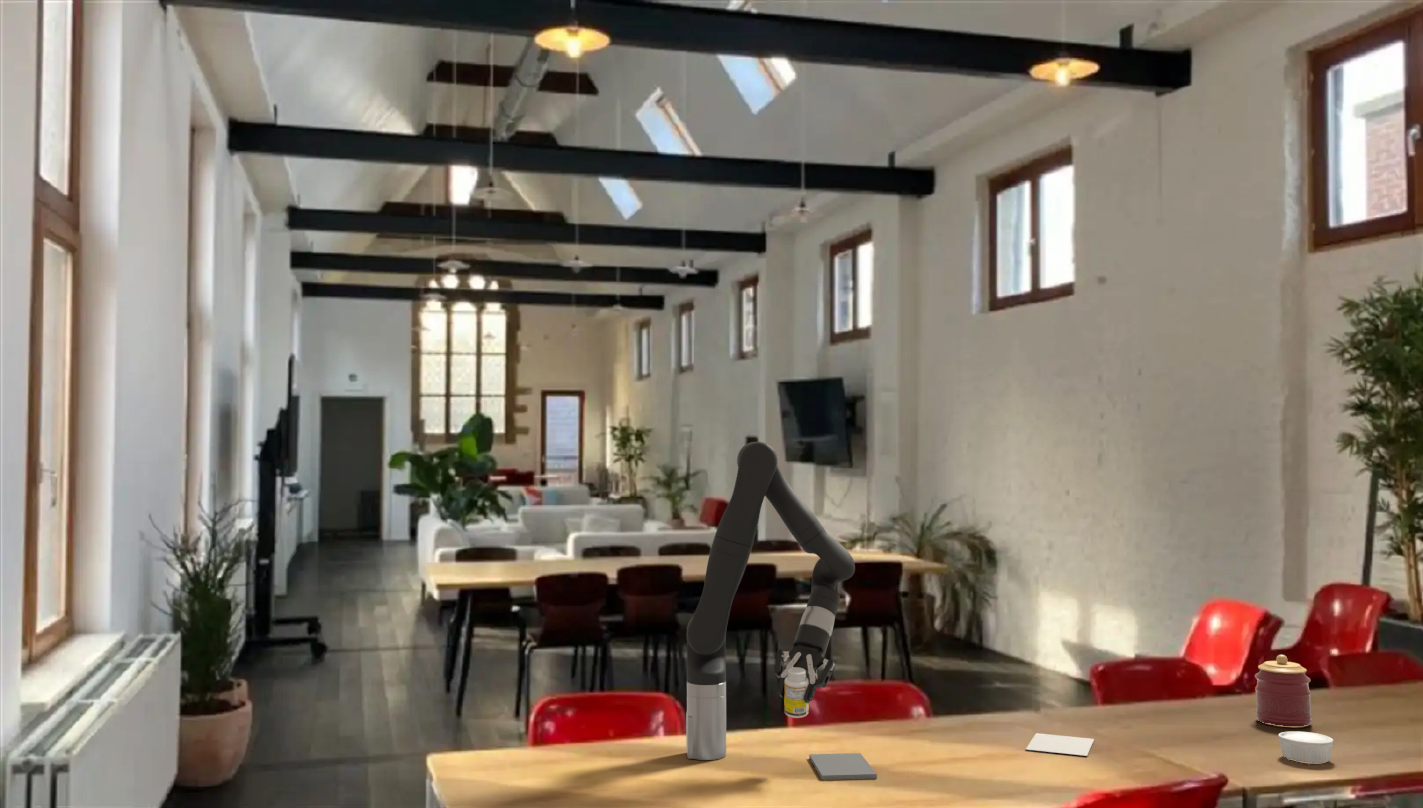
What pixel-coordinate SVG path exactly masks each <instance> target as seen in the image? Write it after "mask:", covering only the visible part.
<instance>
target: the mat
mask: <svg viewBox="0 0 1423 808" xmlns="http://www.w3.org/2000/svg"><path fill="white" fill-rule="evenodd" d="M808 756H809V757H808V759H809V760H810V759H811V761H812V762H811V761H810V762H811V764H812V763H813V764H812V765H814V766H815V767H814V766H813V767H814V769H815V770H817V771H816V772H817V774H818V776H819V777H820V779H821V780H822V781H839V780H840V781H843V780H846V781H847V780H872V779H873V780H875V779H878V773H877V772H876V771H875V770H874V769H873V767H872V766H871V765H870V764H869V762H868V761H867V760H866V758H865V757H864V756H863V754H862V753H860V752H857V753H856V752H852V753H851V752H849V753H843V752H842V753H811V754H809V755H808Z"/></svg>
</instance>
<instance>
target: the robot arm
mask: <svg viewBox="0 0 1423 808" xmlns="http://www.w3.org/2000/svg"><path fill="white" fill-rule="evenodd" d="M736 464H737V474H736V478H735V482H734V487H733V491H732V494H731V497H730V500H729V503H728V504H727V506H726V508H725V510H724V512H723V514H722V516H721V518H720V521H719V523H718V526H717V529H716V531H715V533H714V534H715V535H714V538H713V540H712V544H711V547H710V550H709V556H708V559H707V563H706V564H707V565H706V570H705V571H706V572H705V575H704V576H705V577H704V585H703V589H702V593H701V596H700V599H699V602H698V605H697V606H696V609H695V611H694V614H693V616H692V617H691V618H690V620H689V621H688V623H687V627H686V713H685V714H686V715H685V719H686V720H685V723H686V724H685V728H686V731H685V732H686V735H685V736H686V737H685V738H686V740H685V741H686V742H685V743H686V745H685V747H686V750H685V751H686V758H687V759H688V760H689V759H692V760H693V759H694V760H700V761H711V760H712V761H713V760H719V759H723V758H725V757H726V756H727V653H726V652H727V651H726V650H727V649H726V647H727V645H726V639H727V637H726V636H727V628H728V623H729V618H730V612H731V608H732V604H733V601H734V598H735V595H736V593H737V591H738V589H739V585H740V584H741V582H742V578H743V576H744V573H745V570H746V567H747V565H748V562H749V560H750V556H751V552H752V548H753V545H754V542H755V541H754V540H755V537H756V535H757V534H756V533H757V530H758V529H757V528H758V526H759V525H758V524H759V521H760V516H761V509H762V505H763V502H764V499H765V498H766V499H767V500H768V501H769V503H770V504H771V506H772V507H773V508H774V509H775V511H776V513H777V514H778V516H779V517H780V519H781V521H782V522H783V523H784V525H785V527H786V528H787V529H788V531H789V532H790V534H791V535H792V536H793V538H794V539H795V541H796V542H797V543H798V545H799V546H800V547H801V549H802V550H803V551H804V552H805V553H807V554H813V555H816V556H817V557H818V558H819V559H818V560H817V561H816V562H815V564H814V567H813V570H812V575H811V586H810V588H811V589H810V590H811V592H810V595H809V598H808V601H807V604H806V607H805V610H804V612H803V614H802V616H801V619H800V623H799V624H798V625H799V626H798V629H797V632H796V634H795V638H794V641H793V645H792V647H791V649H790V650H789V651H785V650H784V651H783V650H782V649H780V648H779V649H777V651H776V658H775V665H774V674H775V675H776V677H777V678H778V679H779V682H778V685H777V688H776V690H777V691H776V692H777V694H778V696H779V697H780V698H783V699H784V681H785V678H786V677H787V676H788V670H789V669H790V668H793V667H799V668H803V669H805V670H806V675H807V674H808V678H809V684H808V687H807V690H806V693H805V697H804V701H805V703H809V704H810V703H811V702H812V701H813V700H814V696H815V693H816V691H817V689H818V688H826V686H827V684H828V682H829V681H830V679H831V676H832V675H833V673H834V671H835V668H836V665H835V664H836V663H835V662H834V661H833V659H827V658H826V657H825V656H826V655H825V654H826V652H827V649H828V646H829V643H830V640H831V637H832V634H833V629H834V624H835V619H836V616H837V613H838V608H839V606H840V602H841V601H840V600H841V597H840V594H839V592H838V591H836V588H837V585H838V584H839V583H841V582H844V581H848V580H849V579H851V578H852V577H853V575H854V574H855V571H856V565H855V560H854V558H853V556H852V555H851V553H850V551H848V549H846V548H845V547H844V546H843V545H842V544H841V543H840V542H839V541H838V540H837V539H835V538H834V537H833V536H831V535H830V534H829V533H828V532H827V531H826V529H825V528H824V526H823V525H822V524H821V522H820V520H819V519H818V518H817V516H816V515H815V514H814V512H812V510H811V509H810V508H809V507H808V505H807V504H806V503H805V502H804V501H803V500H802V498H800V496H799V495H798V494H797V493H796V491H795V490H794V489H793V488H792V487H791V485H790V484H789V483H788V481H787V479H786V478H785V476H784V475H783V473H782V471H781V469H780V468H779V465H778V455H777V453H776V451H775V449H774V448H773V447H772V446H771V445H770V444H769V443H766V442H763V441H751V442H748V443H747V444H745V445H744V446H742V447H741V448H740V450H739V452H738V454H737V458H736ZM788 658H789V659H790V661H789V663H787V665H786V666H785V662H787V660H788ZM784 666H785V669H784ZM821 666H823V670H822V672H821V674H820V676H819V678H818V669H819V668H820V667H821Z"/></svg>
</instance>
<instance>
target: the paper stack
mask: <svg viewBox="0 0 1423 808" xmlns="http://www.w3.org/2000/svg"><path fill="white" fill-rule="evenodd" d="M1094 740H1095V738H1089V737H1079V736H1068V735H1061V734H1060V735H1059V734H1050V733H1049V734H1047V733H1038V732H1036V733H1035V734H1034V736H1033V737H1032V738H1031V741H1030V742H1029V743H1028V745H1027V746H1026V747H1025V750H1028V751H1037V752H1046V753H1047V752H1048V753H1058V754H1067V755H1075V756H1085V757H1086V756H1087V757H1088V755H1089V752H1090V750H1091V748H1092V746H1093V743H1094Z"/></svg>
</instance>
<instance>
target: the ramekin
mask: <svg viewBox="0 0 1423 808" xmlns="http://www.w3.org/2000/svg"><path fill="white" fill-rule="evenodd" d="M1277 738H1278V740H1279V744H1280V749H1281V753H1282V756H1283V757H1284V758H1285V757H1286V758H1288V759H1293V760H1296V761H1301V762H1302V761H1303V762H1310V763H1311V762H1312V763H1322V762H1328V761H1329V760H1331V757H1332V755H1331V754H1332V751H1333V750H1332V749H1333V746H1334V739H1333V738H1332V737H1330V736H1328V735H1325V734H1321V733H1316V732H1311V731H1310V732H1308V731H1298V730H1297V731H1284V732H1283V731H1282V732H1280V733H1278V737H1277ZM1286 758H1285V759H1286ZM1329 762H1330V761H1329ZM1329 762H1328V763H1329Z"/></svg>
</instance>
